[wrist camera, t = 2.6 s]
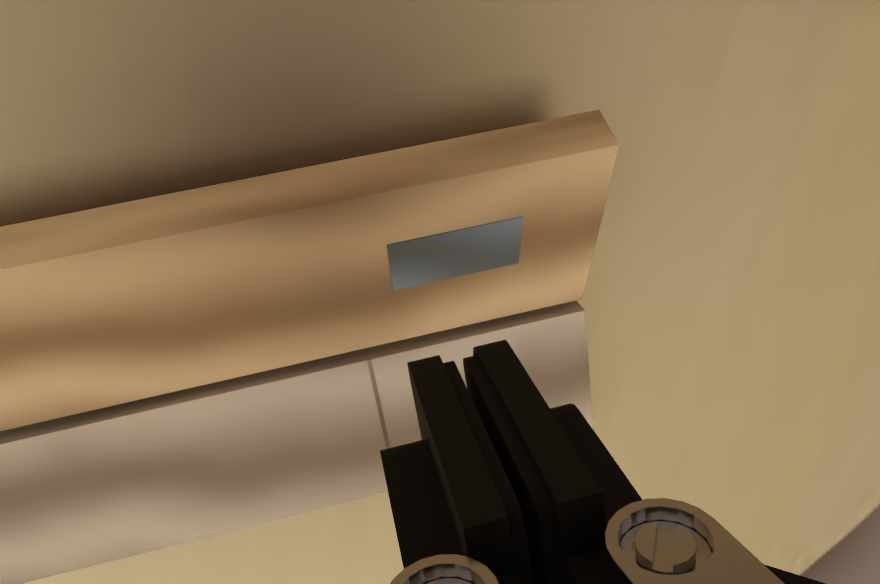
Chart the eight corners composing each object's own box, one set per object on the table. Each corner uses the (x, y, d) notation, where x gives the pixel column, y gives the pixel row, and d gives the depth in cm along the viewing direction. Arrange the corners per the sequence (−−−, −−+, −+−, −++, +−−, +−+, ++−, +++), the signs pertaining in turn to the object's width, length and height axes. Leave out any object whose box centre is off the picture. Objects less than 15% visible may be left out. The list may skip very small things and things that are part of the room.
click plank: (-249, 275, 19) (-268, 325, 18) (599, 109, 22) (619, 146, 21) (-65, 406, 25) (-72, 448, 25) (567, 267, 28) (582, 300, 27)
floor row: (-59, 418, 26) (-80, 444, 24) (568, 278, 28) (584, 294, 27) (17, 557, 29) (3, 588, 27) (579, 418, 31) (593, 439, 30)
